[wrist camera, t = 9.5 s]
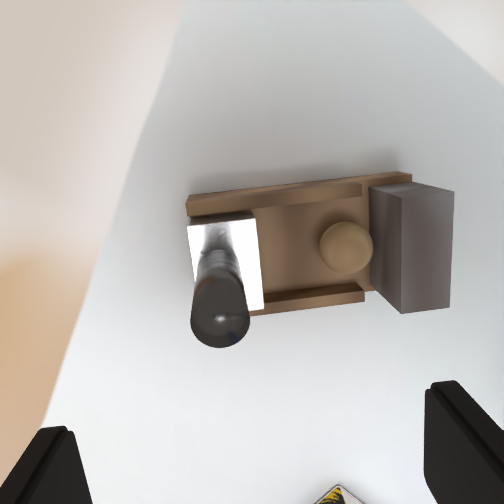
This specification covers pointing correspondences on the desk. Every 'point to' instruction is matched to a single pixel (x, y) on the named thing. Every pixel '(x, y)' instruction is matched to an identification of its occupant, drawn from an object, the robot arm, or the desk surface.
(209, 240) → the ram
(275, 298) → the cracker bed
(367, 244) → the nut
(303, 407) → the desk surface
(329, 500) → the medicine bottle
